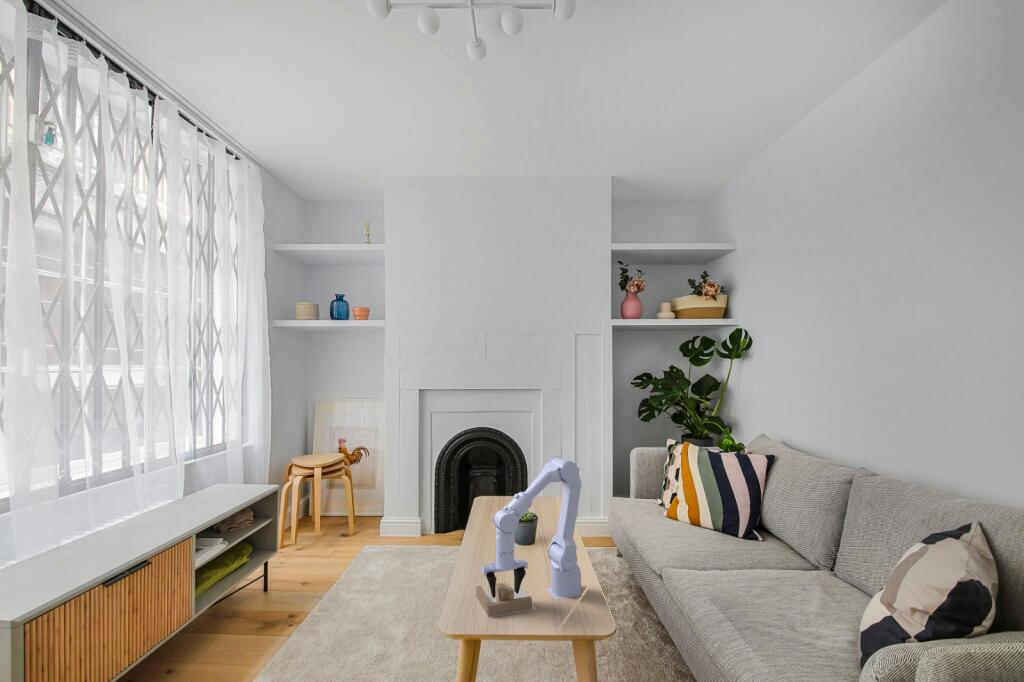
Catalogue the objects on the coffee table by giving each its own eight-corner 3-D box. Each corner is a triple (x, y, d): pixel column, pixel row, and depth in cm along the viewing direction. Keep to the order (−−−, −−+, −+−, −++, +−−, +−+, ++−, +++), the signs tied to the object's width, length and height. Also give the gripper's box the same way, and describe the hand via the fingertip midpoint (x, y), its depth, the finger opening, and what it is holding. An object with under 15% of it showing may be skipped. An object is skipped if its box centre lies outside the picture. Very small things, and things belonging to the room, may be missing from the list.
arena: (520, 589, 165) (520, 578, 165) (537, 609, 151) (537, 598, 151) (475, 596, 159) (475, 585, 159) (488, 618, 146) (488, 606, 146)
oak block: (507, 597, 157) (507, 582, 157) (513, 607, 152) (514, 590, 152) (495, 599, 156) (495, 584, 156) (501, 609, 150) (501, 592, 150)
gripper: (522, 542, 160) (522, 584, 160) (479, 548, 155) (479, 592, 155) (530, 550, 154) (530, 594, 153) (485, 557, 149) (485, 602, 148)
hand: (505, 594), depth 154 cm, fingers open, 7 cm apart
